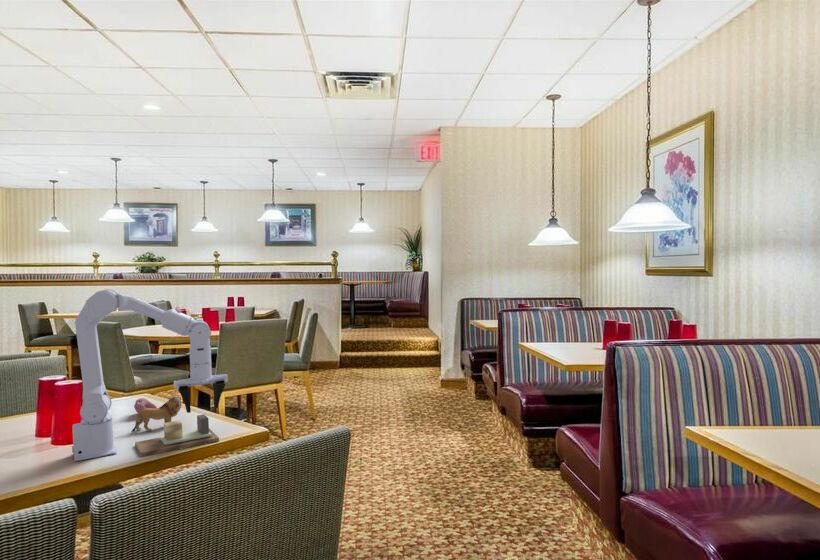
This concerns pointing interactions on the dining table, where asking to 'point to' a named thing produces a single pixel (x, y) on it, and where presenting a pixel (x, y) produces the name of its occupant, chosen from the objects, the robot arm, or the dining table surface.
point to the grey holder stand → (194, 434)
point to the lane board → (158, 447)
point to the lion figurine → (159, 413)
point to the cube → (173, 430)
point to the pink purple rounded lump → (143, 404)
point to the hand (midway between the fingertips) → (202, 409)
